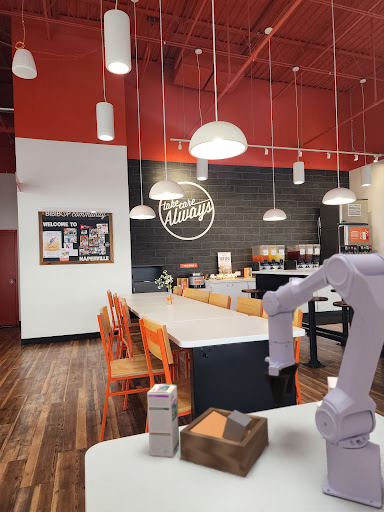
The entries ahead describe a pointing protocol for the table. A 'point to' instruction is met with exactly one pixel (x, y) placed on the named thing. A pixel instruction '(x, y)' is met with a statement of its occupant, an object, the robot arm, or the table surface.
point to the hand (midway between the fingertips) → (283, 397)
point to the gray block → (236, 427)
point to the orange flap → (211, 425)
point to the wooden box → (224, 446)
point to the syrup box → (163, 420)
